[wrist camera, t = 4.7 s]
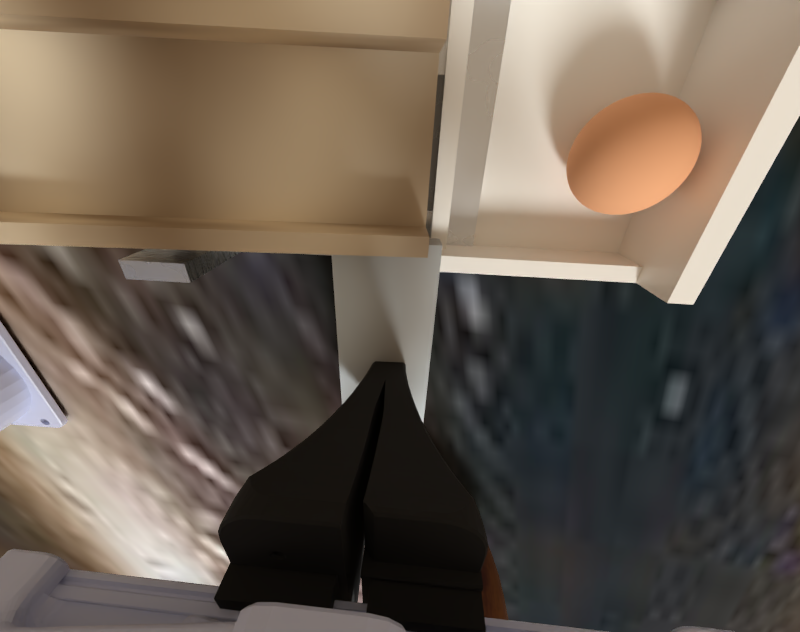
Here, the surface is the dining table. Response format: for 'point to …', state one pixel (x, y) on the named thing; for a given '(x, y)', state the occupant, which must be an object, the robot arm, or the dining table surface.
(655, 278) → the dish
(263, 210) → the beige tray
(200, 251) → the stand
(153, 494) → the dining table surface
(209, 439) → the dining table surface
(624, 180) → the brown egg
